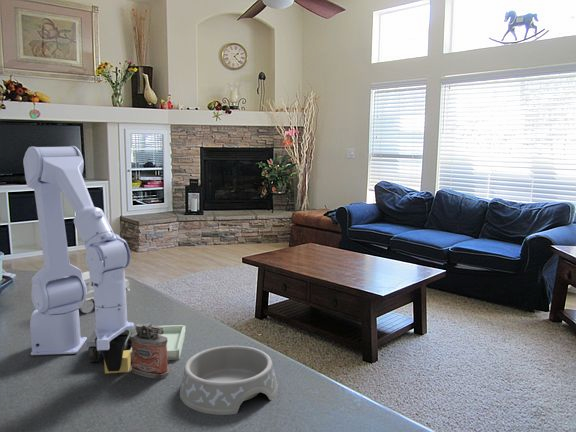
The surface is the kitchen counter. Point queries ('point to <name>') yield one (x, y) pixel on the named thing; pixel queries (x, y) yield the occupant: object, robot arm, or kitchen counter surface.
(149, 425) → the kitchen counter surface
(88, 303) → the toy car
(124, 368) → the block
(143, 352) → the lighter
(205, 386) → the dog bowl
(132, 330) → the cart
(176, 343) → the tray
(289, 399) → the kitchen counter surface
